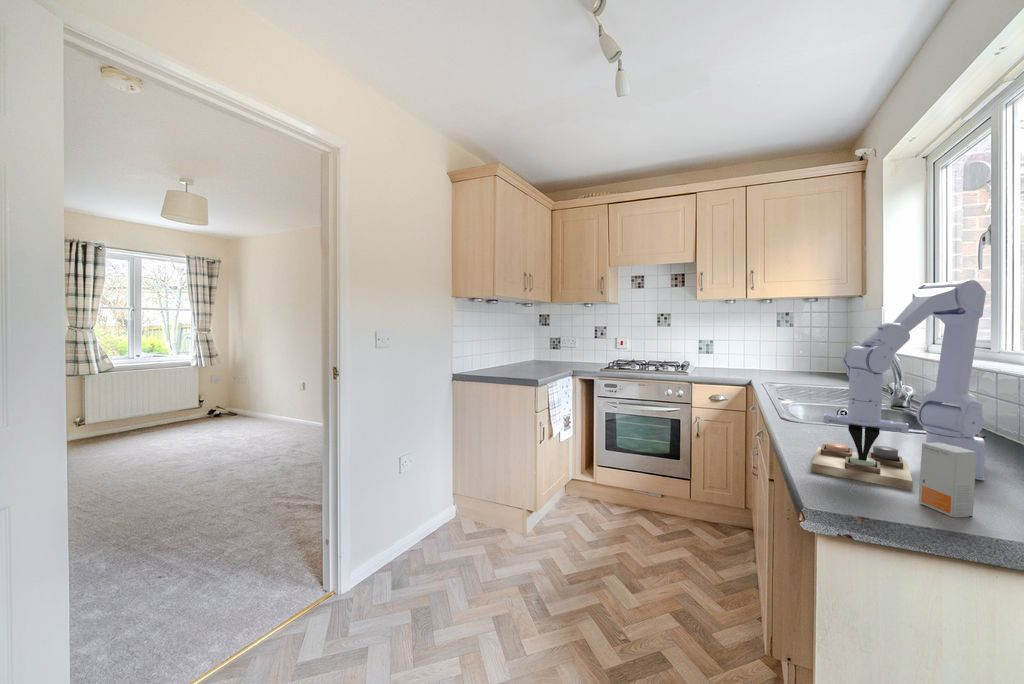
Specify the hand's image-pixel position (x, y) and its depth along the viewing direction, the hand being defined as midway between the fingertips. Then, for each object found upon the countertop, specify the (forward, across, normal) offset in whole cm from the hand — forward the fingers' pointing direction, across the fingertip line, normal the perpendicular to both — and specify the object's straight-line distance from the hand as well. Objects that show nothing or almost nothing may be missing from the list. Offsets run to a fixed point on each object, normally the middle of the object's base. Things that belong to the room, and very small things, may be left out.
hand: (862, 459), depth 95 cm
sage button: (+2, 0, 0) cm, 2 cm away
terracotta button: (+2, -5, +9) cm, 10 cm away
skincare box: (+4, +12, -12) cm, 17 cm away
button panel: (+4, 0, +5) cm, 6 cm away
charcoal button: (0, +4, +8) cm, 9 cm away
